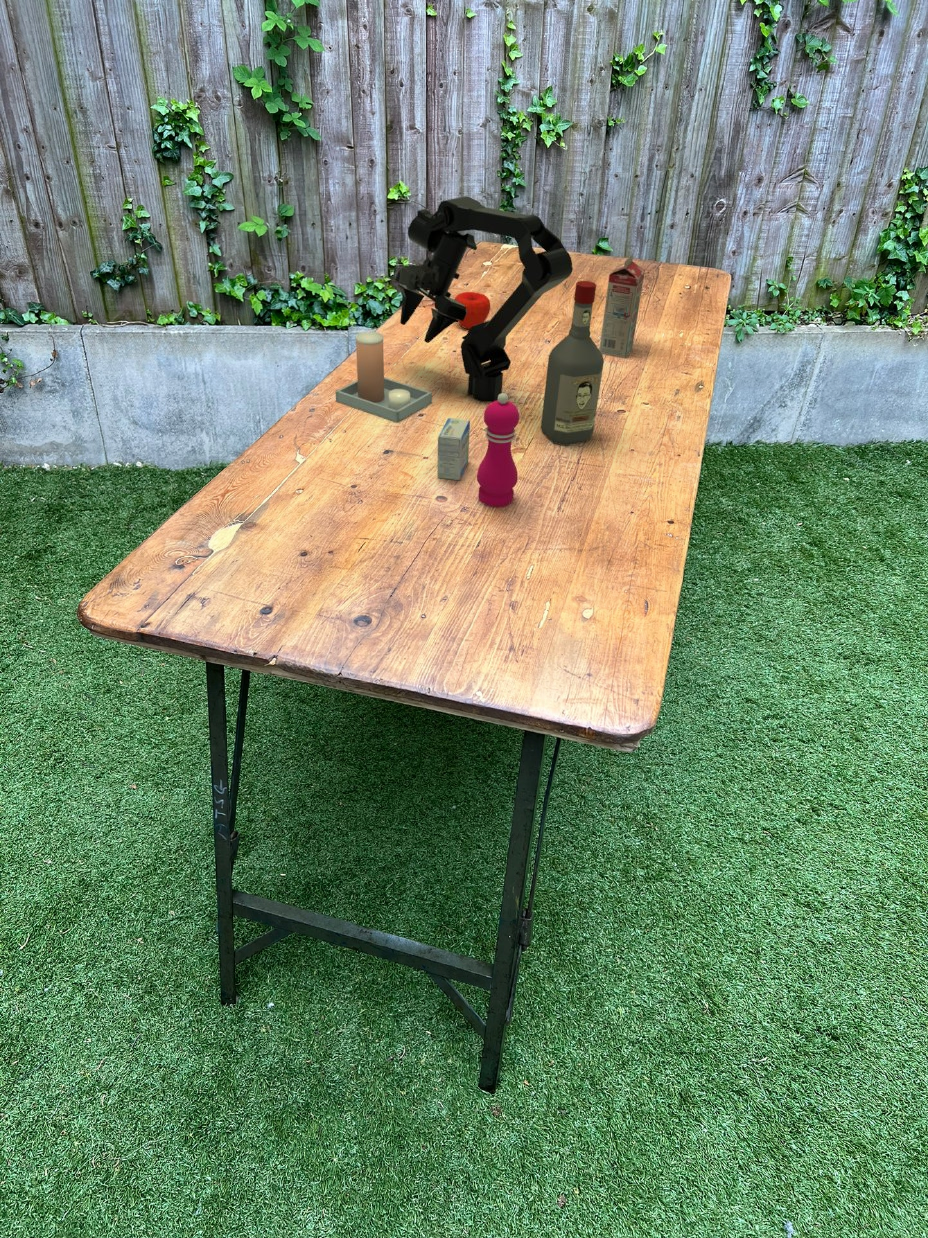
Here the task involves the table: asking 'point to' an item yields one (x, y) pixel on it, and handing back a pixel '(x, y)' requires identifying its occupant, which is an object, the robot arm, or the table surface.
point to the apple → (473, 308)
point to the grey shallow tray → (385, 400)
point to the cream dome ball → (398, 398)
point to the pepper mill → (498, 454)
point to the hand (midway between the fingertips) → (414, 332)
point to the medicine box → (453, 449)
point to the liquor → (573, 377)
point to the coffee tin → (370, 366)
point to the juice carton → (621, 309)
